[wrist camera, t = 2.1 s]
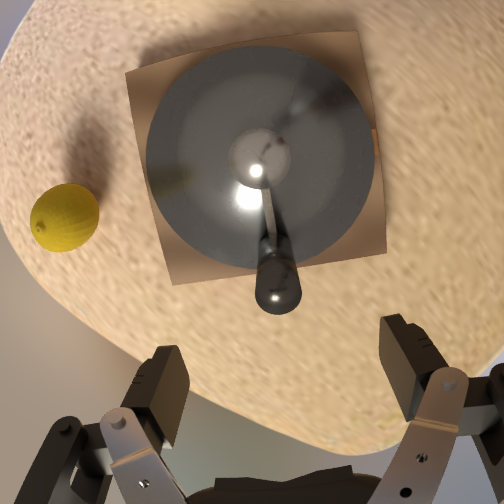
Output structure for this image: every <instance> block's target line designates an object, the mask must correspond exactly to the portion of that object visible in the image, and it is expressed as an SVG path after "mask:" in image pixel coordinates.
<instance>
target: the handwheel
mask: <svg viewBox="0 0 504 504" xmlns="http://www.w3.org/2000/svg"><path fill="white" fill-rule="evenodd" d="M374 166H375V150H374V141H373V136H372V131H371V127H370V124H369V121H368V119H367V116H366V113H365V111H364V109H363V108H362V106H361V104H360V102H359V100H358V99H357V97H356V96H355V94H354V93H353V91H352V90H351V89H350V88H349V86H348V85H347V84H346V83H345V82H344V81H343V80H342V79H341V78H340V77H339V76H338V75H337V74H336V73H334V72H333V71H332V70H331V69H329V68H328V67H327V66H325V65H324V64H322V63H320V62H319V61H317V60H315V59H313V58H311V57H309V56H307V55H305V54H302V53H300V52H297V51H293V50H290V49H286V48H281V47H275V46H245V47H238V48H234V49H230V50H226V51H223V52H220V53H218V54H215V55H213V56H210V57H208V58H206V59H205V60H203V61H201V62H199V63H198V64H196V65H194V66H193V67H192V68H190V69H189V70H188V71H187V72H185V73H184V74H183V75H182V76H181V77H180V78H179V79H178V80H177V81H176V82H175V83H174V84H173V85H172V86H171V88H170V89H169V90H168V92H167V93H166V94H165V96H164V97H163V99H162V100H161V102H160V104H159V106H158V108H157V109H156V112H155V114H154V117H153V119H152V122H151V125H150V129H149V133H148V137H147V145H146V170H147V176H148V182H149V185H150V189H151V192H152V195H153V198H154V200H155V202H156V204H157V207H158V209H159V210H160V212H161V214H162V215H163V217H164V218H165V220H166V221H167V223H168V224H169V225H170V226H171V228H172V229H173V230H174V231H175V232H176V233H177V234H178V235H179V236H180V237H181V238H182V239H183V240H184V241H185V242H186V243H187V244H189V245H190V246H191V247H193V248H194V249H195V250H197V251H199V252H200V253H202V254H204V255H206V256H207V257H209V258H212V259H214V260H216V261H219V262H221V263H224V264H228V265H231V266H235V267H240V268H247V269H257V275H256V289H255V298H256V301H257V303H258V305H259V306H260V308H262V309H263V310H264V311H266V312H268V313H270V314H275V315H281V314H286V313H288V312H291V311H292V310H294V309H295V308H296V307H297V306H298V304H299V303H300V300H301V297H302V290H301V285H300V281H299V276H298V272H297V267H296V264H297V263H300V262H303V261H306V260H308V259H310V258H312V257H314V256H316V255H318V254H320V253H321V252H323V251H324V250H326V249H327V248H329V247H330V246H332V245H333V244H334V243H335V242H336V241H337V240H339V239H340V238H341V237H342V236H343V235H344V234H345V233H346V232H347V230H348V229H349V228H350V227H351V226H352V224H353V223H354V222H355V220H356V219H357V217H358V216H359V214H360V212H361V210H362V208H363V206H364V204H365V203H366V200H367V197H368V195H369V192H370V189H371V185H372V180H373V175H374Z"/></svg>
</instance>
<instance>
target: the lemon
mask: <svg viewBox="0 0 504 504" xmlns="http://www.w3.org/2000/svg"><path fill="white" fill-rule="evenodd" d="M98 221H99V207H98V203H97V201H96V198H95V197H94V195H93V194H92V193H91V192H90V191H89V190H88V189H87V188H85V187H83V186H81V185H78V184H73V183H67V184H60V185H57V186H55V187H53V188H51V189H49V190H48V191H46V192H45V193H44V194H43V195H42V196H41V197H40V198H39V199H38V200H37V201H36V203H35V205H34V206H33V209H32V212H31V216H30V226H31V231H32V234H33V236H34V238H35V240H36V241H37V242H38V243H39V244H40V245H41V246H42V247H43V248H45V249H47V250H49V251H52V252H66V251H71V250H74V249H76V248H78V247H79V246H81V245H83V244H84V243H85V242H86V241H87V240H88V239H89V238H90V237H91V236H92V235H93V233H94V232H95V230H96V228H97V225H98Z"/></svg>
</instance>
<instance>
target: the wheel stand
mask: <svg viewBox="0 0 504 504" xmlns="http://www.w3.org/2000/svg"><path fill="white" fill-rule="evenodd" d="M245 46H275V47H281V48H286V49H290V50H293V51H297V52H300V53H302V54H305V55H307V56H309V57H311V58H313V59H315V60H317V61H319V62H320V63H322V64H324V65H325V66H327V67H328V68H329V69H331V70H332V71H333V72H334V73H336V74H337V75H338V76H339V77H340V78H341V79H342V80H343V81H344V82H345V83H346V84H347V85H348V86H349V88H350V89H351V90H352V91H353V93H354V94H355V96H356V97H357V99H358V100H359V102H360V104H361V106H362V108H363V109H364V111H365V113H366V116H367V119H368V121H369V124H370V127H371V131H372V136H373V141H374V150H375V166H374V175H373V180H372V185H371V189H370V192H369V195H368V197H367V200H366V203H365V204H364V206H363V208H362V210H361V212H360V214H359V216H358V217H357V219H356V220H355V222H354V223H353V224H352V226H351V227H350V228H349V229H348V230H347V232H346V233H345V234H344V235H343V236H342V237H341V238H340V239H339V240H337V241H336V242H335V243H334V244H333V245H332V246H330V247H329V248H327V249H326V250H324V251H323V252H321V253H320V254H318V255H316V256H314V257H312V258H310V259H308V260H306V261H303V262H300V263H297V264H296V267H297V268H298V267H305V266H311V265H318V264H324V263H330V262H337V261H343V260H349V259H355V258H361V257H367V256H373V255H379V254H385V253H387V243H386V221H385V205H384V192H383V180H382V170H381V161H380V153H379V145H378V137H377V130H376V123H375V117H374V111H373V105H372V99H371V93H370V88H369V83H368V78H367V73H366V68H365V63H364V59H363V55H362V50H361V46H360V42H359V38H358V34H357V31H339V32H319V33H306V34H295V35H286V36H277V37H270V38H263V39H256V40H250V41H244V42H238V43H233V44H228V45H223V46H218V47H214V48H209V49H205V50H200V51H196V52H192V53H188V54H185V55H181V56H177V57H174V58H170V59H167V60H163V61H160V62H156V63H153V64H150V65H147V66H144V67H141V68H138V69H135V70H132V71H129V72H126V73H125V76H126V82H127V89H128V95H129V101H130V107H131V113H132V118H133V124H134V129H135V134H136V139H137V144H138V149H139V154H140V159H141V164H142V168H143V173H144V178H145V182H146V186H147V191H148V195H149V199H150V203H151V208H152V212H153V216H154V220H155V224H156V228H157V231H158V235H159V239H160V243H161V247H162V250H163V254H164V257H165V261H166V265H167V268H168V272H169V275H170V279H171V282H172V285H180V284H187V283H195V282H202V281H209V280H216V279H223V278H231V277H238V276H244V275H251V274H257V269H247V268H240V267H235V266H231V265H228V264H224V263H221V262H219V261H216V260H214V259H212V258H209V257H207V256H206V255H204V254H202V253H200V252H199V251H197V250H195V249H194V248H193V247H191V246H190V245H189V244H187V243H186V242H185V241H184V240H183V239H182V238H181V237H180V236H179V235H178V234H177V233H176V232H175V231H174V230H173V229H172V228H171V226H170V225H169V224H168V223H167V221H166V220H165V218H164V217H163V215H162V214H161V212H160V210H159V209H158V207H157V204H156V202H155V200H154V198H153V195H152V192H151V189H150V185H149V182H148V176H147V170H146V145H147V137H148V133H149V129H150V125H151V122H152V119H153V117H154V114H155V112H156V109H157V108H158V106H159V104H160V102H161V100H162V99H163V97H164V96H165V94H166V93H167V92H168V90H169V89H170V88H171V86H172V85H173V84H174V83H175V82H176V81H177V80H178V79H179V78H180V77H181V76H182V75H183V74H184V73H185V72H187V71H188V70H189V69H190V68H192V67H193V66H194V65H196V64H198V63H199V62H201V61H203V60H205V59H206V58H208V57H210V56H213V55H215V54H218V53H220V52H223V51H226V50H230V49H234V48H238V47H245Z"/></svg>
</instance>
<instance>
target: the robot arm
mask: <svg viewBox="0 0 504 504" xmlns="http://www.w3.org/2000/svg"><path fill="white" fill-rule="evenodd" d="M379 356H380V361H381V364H382V366H383V368H384V371H385V373H386V375H387V377H388V380H389V382H390V384H391V386H392V389H393V391H394V393H395V396H396V398H397V400H398V403H399V405H400V407H401V410H402V412H403V415H404V417H405V420H406V422H409V421H411V422H410V424H409V426H408V428H407V430H406V433H405V435H404V437H403V439H402V441H401V443H400V445H399V447H398V449H397V451H396V453H395V455H394V457H393V459H392V461H391V463H390V465H389V467H388V469H387V471H386V472H385V474H384V476H383V478H379V477H376V476H372V475H367V474H359V473H357V474H356V473H353V471H352V466H351V465H348V466H343V467H337V468H332V469H326V470H319V471H315V472H313V473H310V474H307V475H304V476H301V477H298V478H295V479H292V480H289V481H285V482H277V481H268V480H262V479H255V478H249V477H244V478H215V485H214V487H210V488H207V489H203V490H201V491H198V492H196V493H194V494H192V495H191V496H189V497H188V496H187V495H186V494H185V492H184V491H183V489H182V488H181V487H180V485H179V484H178V482H177V480H176V479H175V478H174V476H173V474H172V473H171V471H170V470H169V468H168V467H167V465H166V463H165V462H164V460H163V458H162V457H161V455H160V453H161V450H162V448H169V449H171V448H172V449H173V446H174V442H175V438H176V434H177V431H178V427H179V423H180V420H181V416H182V413H183V409H184V405H185V402H186V398H187V394H188V391H189V386H190V380H189V374H188V372H187V369H186V366H185V364H184V361H183V358H182V355H181V353H180V350H179V348H178V346H177V345H169V346H158V347H157V349H156V351H155V353H154V355H153V358H152V359H147V360H146V361H145V362H144V363H143V364H142V365H141V366H140V367H139V369H138V371H137V373H136V375H135V376H136V377H134V379H133V381H132V384H131V385H130V387H129V389H128V392H127V393H126V396H125V398H124V400H123V402H122V404H121V406H120V407H119V408H115V409H112V410H110V411H109V412H107V413H106V414H105V415H104V416H103V417H102V419H101V421H100V423H94V424H89V425H82V423H81V422H80V421H79V419H78V418H76V417H73V416H66V417H63V418H61V419H59V420H57V421H56V422H55V423H54V424H53V426H52V427H51V429H50V431H49V433H48V435H47V436H46V438H45V440H44V442H43V444H42V446H41V448H40V450H39V452H38V454H37V456H36V458H35V460H34V462H33V464H32V466H31V468H30V470H29V472H28V474H27V476H26V478H25V480H24V482H23V485H22V487H21V489H20V491H19V493H18V495H17V498H16V500H15V502H14V504H104V503H105V500H106V496H107V492H108V490H109V486H110V483H111V480H112V476H113V475H114V477H115V480H116V482H117V485H118V487H119V489H120V491H121V494H122V496H123V498H124V500H125V503H126V504H432V501H433V499H434V497H435V495H436V492H437V490H438V487H439V485H440V483H441V480H442V477H443V475H444V472H445V469H446V467H447V464H448V461H449V458H450V456H451V452H452V449H453V446H454V443H455V440H456V437H457V436H467V435H471V436H472V438H473V440H474V443H475V445H476V447H477V450H478V452H479V454H480V457H481V459H482V462H483V464H484V466H485V469H486V471H487V474H488V477H489V479H490V482H491V485H492V487H493V490H494V493H495V495H496V498H497V501H498V504H504V363H500V364H498V365H496V366H494V367H493V368H492V370H491V372H490V375H489V376H487V377H474V378H469V377H467V375H466V374H465V373H464V372H463V371H462V370H460V369H457V368H454V367H449V366H448V364H447V363H446V361H445V360H444V358H443V357H442V355H441V354H440V352H439V351H438V349H437V348H436V347H435V345H433V342H432V341H431V339H430V338H429V337H428V335H427V334H426V332H425V331H424V330H423V329H422V328H421V327H419V326H417V325H416V324H414V323H411V324H407V323H406V322H405V320H404V319H403V317H402V316H401V315H400V314H399V313H398V314H394V315H389V316H384V317H381V319H380V334H379ZM75 466H76V467H77V468H78V469H77V472H76V475H75V477H74V480H73V482H72V485H71V486H70V478H71V475H72V473H73V470H74V468H75Z"/></svg>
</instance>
